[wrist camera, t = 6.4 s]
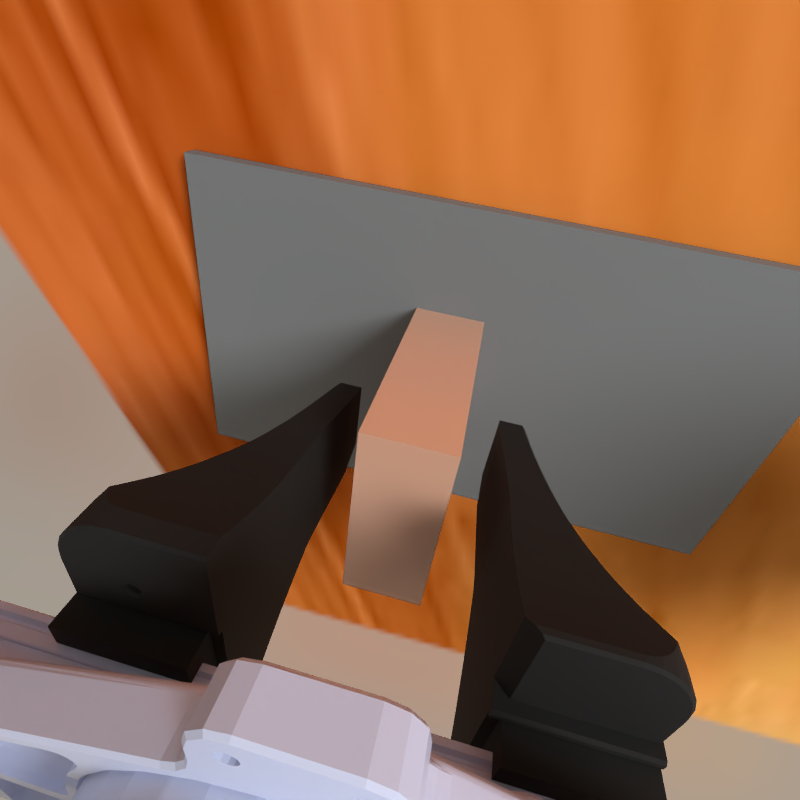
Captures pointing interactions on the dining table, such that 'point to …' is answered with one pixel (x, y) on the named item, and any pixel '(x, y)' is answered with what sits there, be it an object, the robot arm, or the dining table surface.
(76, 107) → the dining table surface
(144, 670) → the robot arm
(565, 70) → the dining table surface
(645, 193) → the dining table surface
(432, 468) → the tile
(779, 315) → the mat
